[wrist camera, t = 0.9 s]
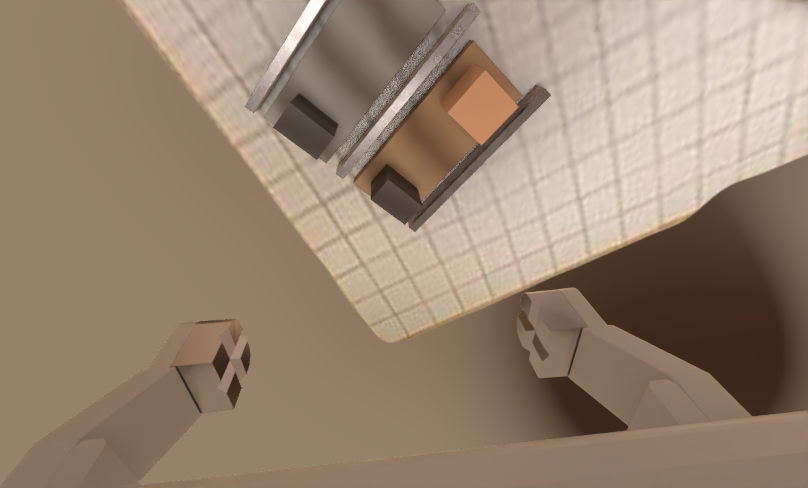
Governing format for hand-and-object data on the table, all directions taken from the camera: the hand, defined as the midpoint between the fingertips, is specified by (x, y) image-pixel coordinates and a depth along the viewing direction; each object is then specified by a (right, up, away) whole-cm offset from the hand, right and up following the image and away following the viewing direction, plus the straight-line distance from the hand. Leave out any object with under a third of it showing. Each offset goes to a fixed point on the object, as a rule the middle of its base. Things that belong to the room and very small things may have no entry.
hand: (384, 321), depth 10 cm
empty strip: (-5, +21, +28) cm, 35 cm away
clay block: (+8, +18, +29) cm, 35 cm away
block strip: (+4, +15, +32) cm, 36 cm away
